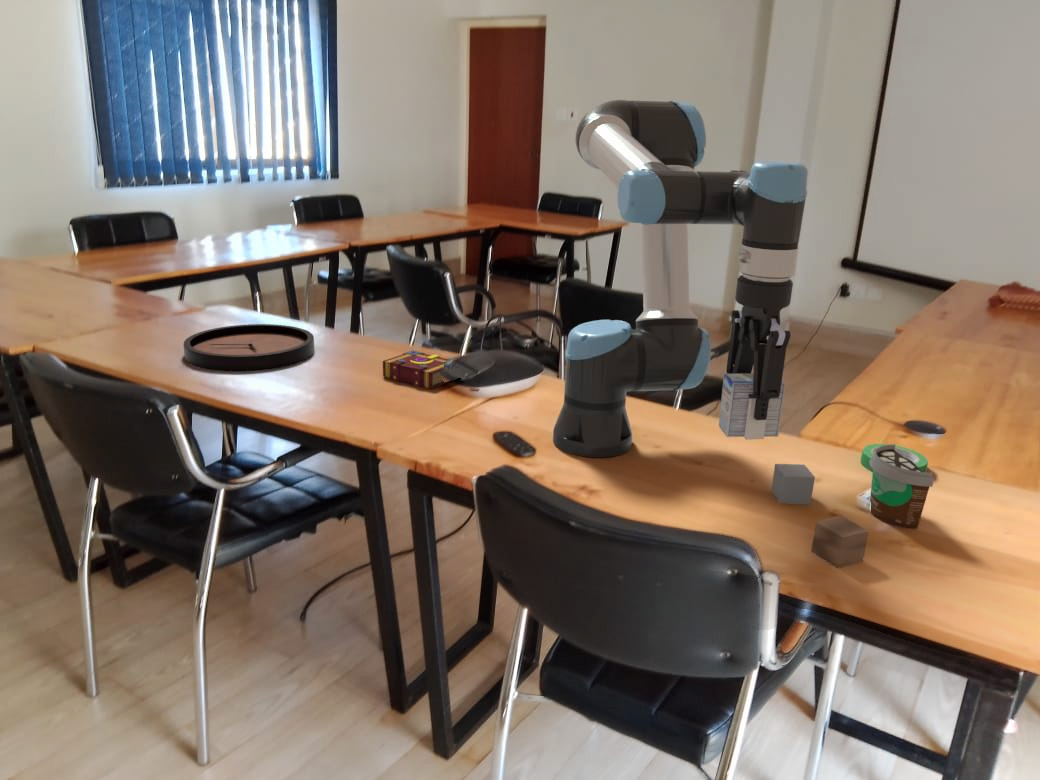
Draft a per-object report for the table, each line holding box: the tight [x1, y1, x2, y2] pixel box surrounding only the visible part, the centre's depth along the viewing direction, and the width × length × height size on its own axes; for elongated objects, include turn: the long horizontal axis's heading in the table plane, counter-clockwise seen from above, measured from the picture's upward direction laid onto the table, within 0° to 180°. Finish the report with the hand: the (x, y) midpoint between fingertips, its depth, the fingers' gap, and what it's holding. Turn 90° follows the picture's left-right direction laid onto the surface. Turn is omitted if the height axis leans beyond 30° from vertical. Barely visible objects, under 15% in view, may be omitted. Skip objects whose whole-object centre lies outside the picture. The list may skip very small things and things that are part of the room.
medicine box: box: [718, 372, 786, 438], centre depth 119 cm, size 8×4×9 cm, turn 94°
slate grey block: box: [771, 463, 816, 505], centre depth 134 cm, size 5×5×5 cm
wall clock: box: [183, 323, 316, 373], centre depth 205 cm, size 31×4×31 cm
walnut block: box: [811, 515, 869, 569], centre depth 116 cm, size 5×5×5 cm
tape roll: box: [860, 443, 929, 473], centre depth 148 cm, size 11×11×3 cm
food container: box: [869, 443, 934, 530], centre depth 128 cm, size 12×6×10 cm, turn 4°
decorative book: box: [382, 349, 452, 390], centre depth 190 cm, size 11×16×5 cm
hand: (745, 431), depth 120 cm, fingers closed on medicine box, 5 cm apart
